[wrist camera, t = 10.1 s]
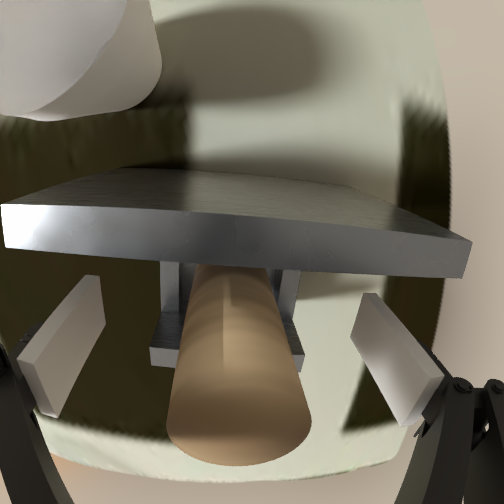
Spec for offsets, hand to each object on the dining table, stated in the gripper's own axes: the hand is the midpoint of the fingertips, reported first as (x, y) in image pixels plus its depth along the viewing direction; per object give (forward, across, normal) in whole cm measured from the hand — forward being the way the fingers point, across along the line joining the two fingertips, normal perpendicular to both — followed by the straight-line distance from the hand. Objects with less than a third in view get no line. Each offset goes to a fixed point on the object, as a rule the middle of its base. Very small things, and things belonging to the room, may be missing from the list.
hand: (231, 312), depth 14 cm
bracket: (+10, 0, 0) cm, 10 cm away
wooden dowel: (+7, 0, 0) cm, 7 cm away
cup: (+11, -10, +13) cm, 19 cm away
